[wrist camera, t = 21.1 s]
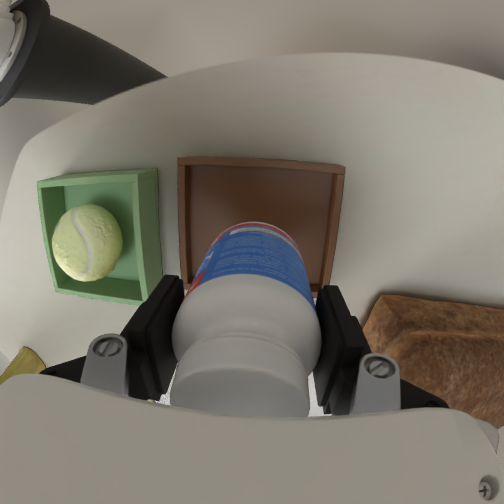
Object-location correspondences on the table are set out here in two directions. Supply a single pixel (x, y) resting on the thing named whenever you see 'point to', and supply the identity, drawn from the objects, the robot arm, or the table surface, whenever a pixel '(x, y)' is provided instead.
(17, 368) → the vase
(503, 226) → the table surface
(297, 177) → the walnut tray
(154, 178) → the green bin
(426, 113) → the table surface
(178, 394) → the pill bottle
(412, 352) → the bread
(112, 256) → the tennis ball
